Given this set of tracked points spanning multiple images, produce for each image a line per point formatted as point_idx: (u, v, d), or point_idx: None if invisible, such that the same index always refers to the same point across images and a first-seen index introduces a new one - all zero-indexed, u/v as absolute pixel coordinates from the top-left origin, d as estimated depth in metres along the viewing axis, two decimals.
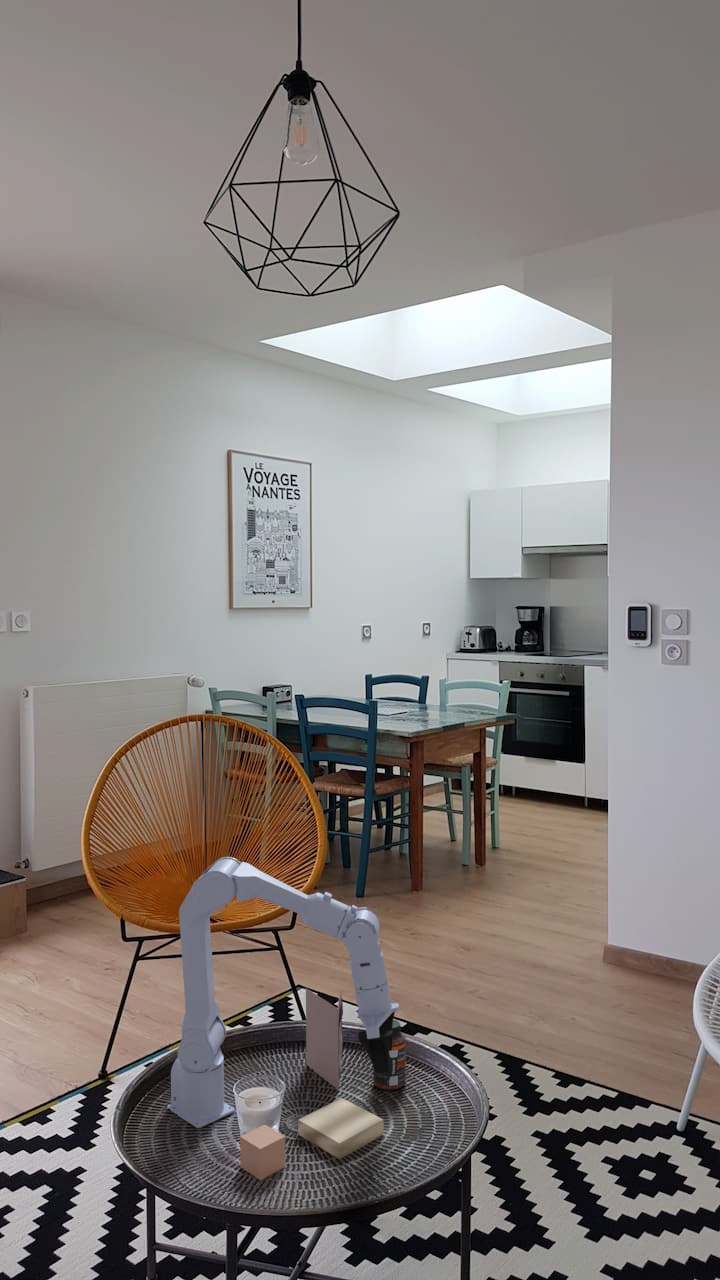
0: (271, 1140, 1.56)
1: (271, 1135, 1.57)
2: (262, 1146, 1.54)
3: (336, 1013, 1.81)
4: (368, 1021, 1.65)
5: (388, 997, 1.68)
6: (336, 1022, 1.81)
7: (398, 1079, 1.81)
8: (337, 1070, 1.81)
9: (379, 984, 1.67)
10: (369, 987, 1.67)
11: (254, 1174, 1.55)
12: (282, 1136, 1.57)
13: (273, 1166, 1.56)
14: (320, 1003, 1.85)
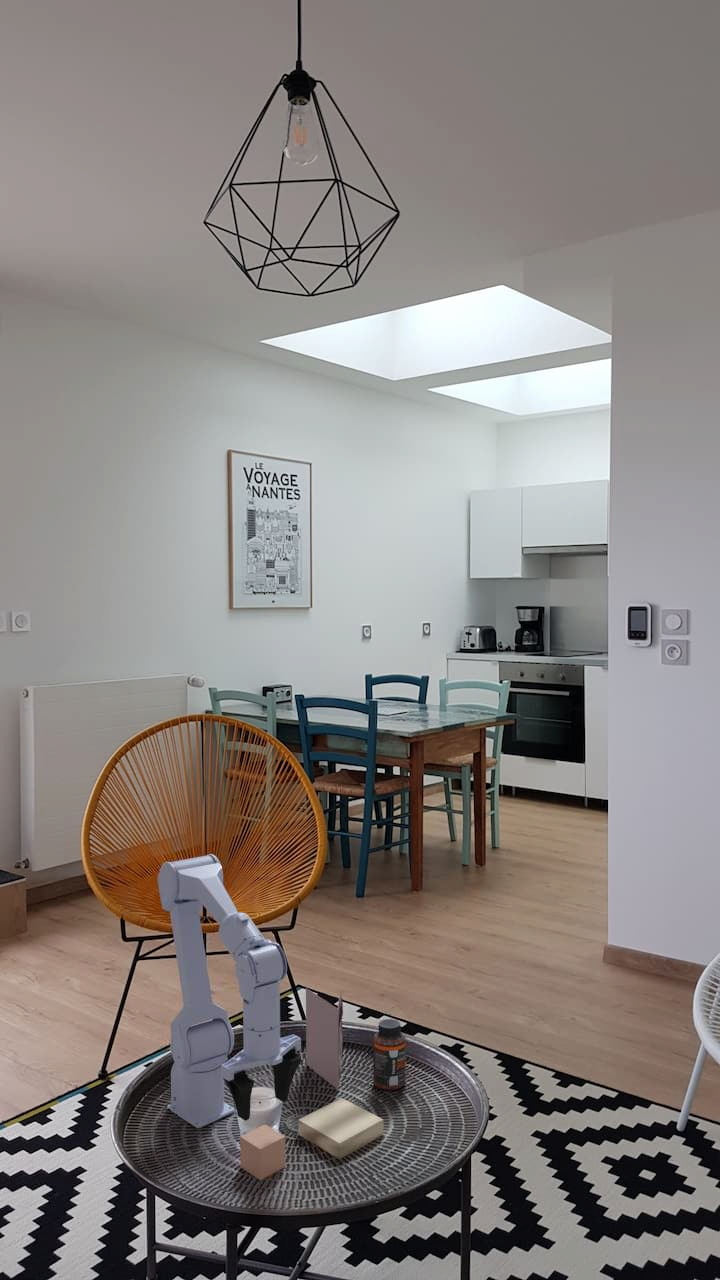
0: (271, 1140, 1.56)
1: (271, 1135, 1.57)
2: (262, 1146, 1.54)
3: (336, 1013, 1.81)
4: (235, 1060, 1.54)
5: (268, 1046, 1.54)
6: (336, 1022, 1.81)
7: (398, 1079, 1.81)
8: (337, 1070, 1.81)
9: (254, 1028, 1.53)
10: (246, 1026, 1.54)
11: (254, 1174, 1.55)
12: (282, 1136, 1.57)
13: (273, 1166, 1.56)
14: (320, 1003, 1.85)
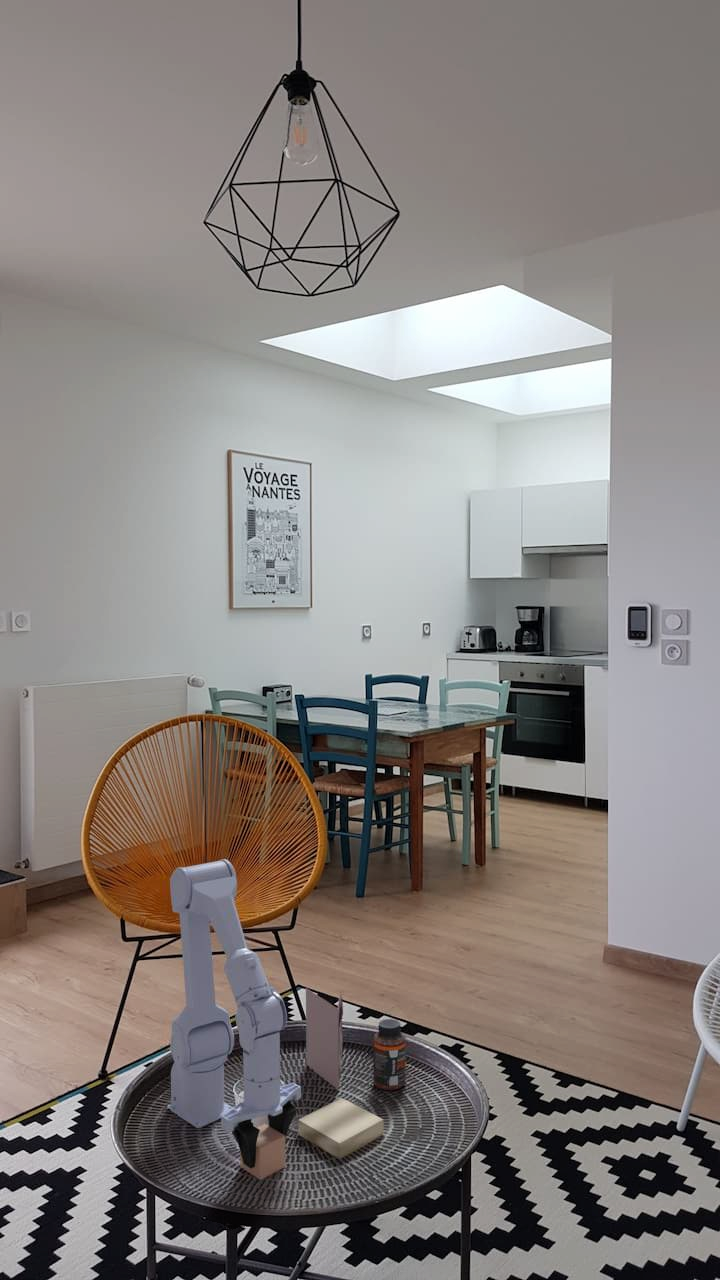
0: (271, 1139, 1.56)
1: (271, 1134, 1.57)
2: (262, 1145, 1.54)
3: (336, 1013, 1.81)
4: (235, 1111, 1.54)
5: (268, 1097, 1.54)
6: (336, 1022, 1.81)
7: (398, 1079, 1.81)
8: (337, 1070, 1.81)
9: (255, 1079, 1.54)
10: (246, 1076, 1.55)
11: (254, 1173, 1.55)
12: (282, 1135, 1.57)
13: (273, 1165, 1.56)
14: (320, 1003, 1.85)
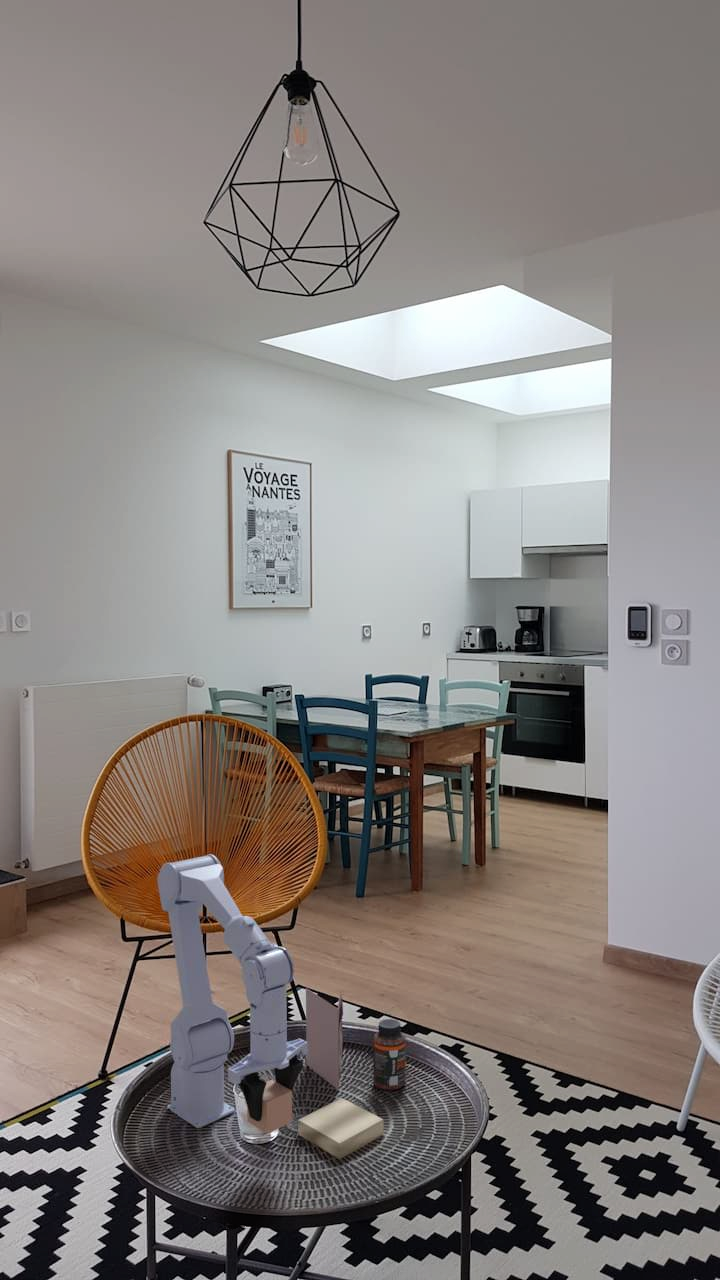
0: (277, 1094, 1.56)
1: (278, 1089, 1.58)
2: (269, 1099, 1.55)
3: (336, 1013, 1.81)
4: (242, 1064, 1.54)
5: (275, 1050, 1.54)
6: (336, 1022, 1.81)
7: (398, 1079, 1.81)
8: (337, 1070, 1.81)
9: (262, 1032, 1.54)
10: (253, 1030, 1.55)
11: (261, 1128, 1.55)
12: (289, 1090, 1.57)
13: (280, 1120, 1.56)
14: (320, 1003, 1.85)
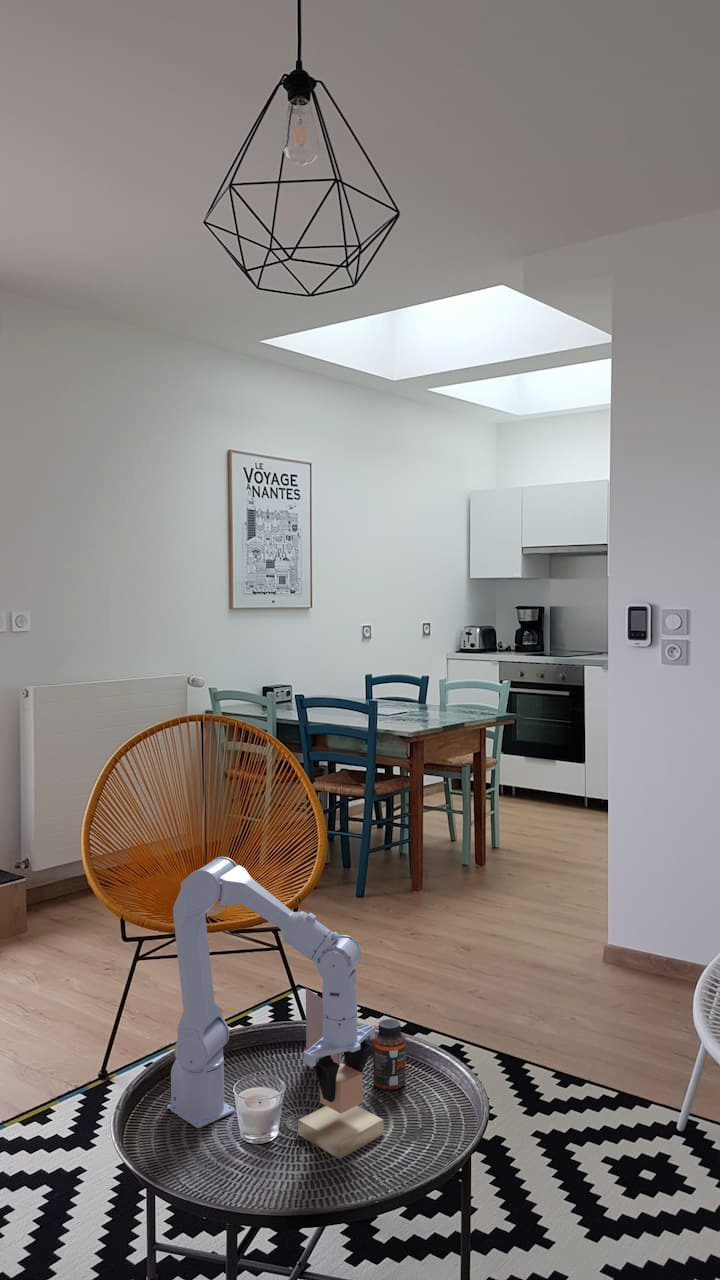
0: (349, 1076, 1.65)
1: (349, 1072, 1.66)
2: (342, 1081, 1.63)
3: None
4: (316, 1047, 1.63)
5: (347, 1034, 1.63)
6: None
7: (398, 1079, 1.81)
8: None
9: (345, 1017, 1.63)
10: (335, 1018, 1.63)
11: (334, 1108, 1.63)
12: (360, 1073, 1.66)
13: (352, 1101, 1.64)
14: (320, 1003, 1.85)
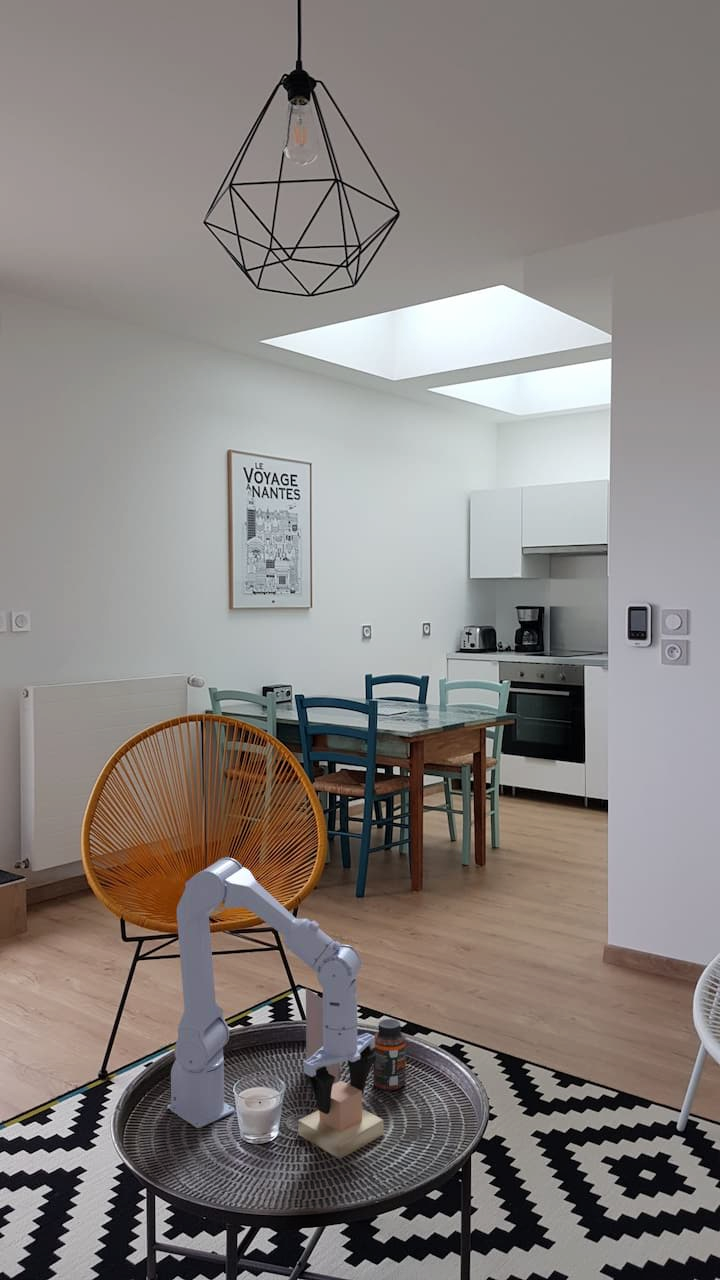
0: (348, 1094, 1.65)
1: (348, 1090, 1.66)
2: (341, 1100, 1.63)
3: None
4: (316, 1057, 1.63)
5: (347, 1044, 1.63)
6: None
7: (398, 1079, 1.81)
8: (337, 1070, 1.81)
9: (346, 1027, 1.63)
10: (335, 1027, 1.63)
11: (334, 1126, 1.64)
12: (359, 1091, 1.66)
13: (351, 1119, 1.64)
14: (320, 1003, 1.85)
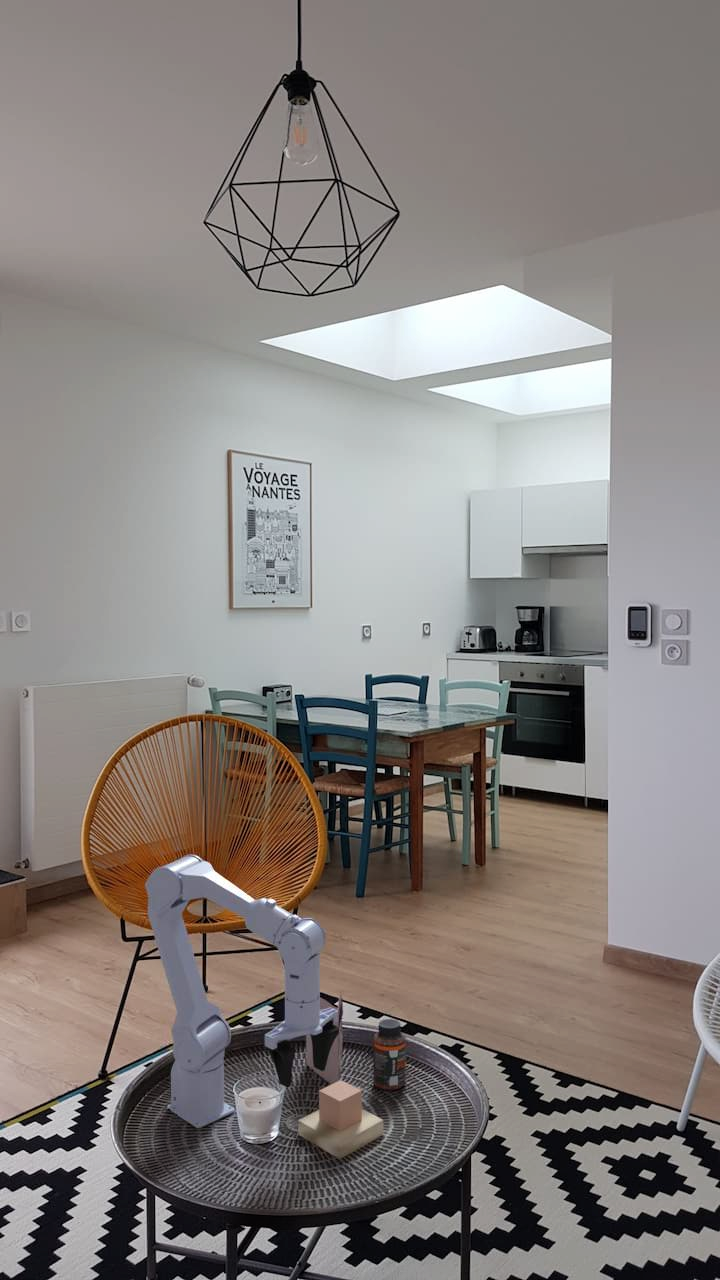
0: (348, 1093, 1.65)
1: (348, 1089, 1.66)
2: (341, 1099, 1.63)
3: None
4: (277, 1030, 1.62)
5: (309, 1017, 1.62)
6: (336, 1022, 1.81)
7: (398, 1079, 1.81)
8: (337, 1070, 1.81)
9: (305, 1000, 1.62)
10: (294, 1000, 1.62)
11: (333, 1125, 1.64)
12: (359, 1090, 1.66)
13: (351, 1118, 1.65)
14: (320, 1003, 1.85)
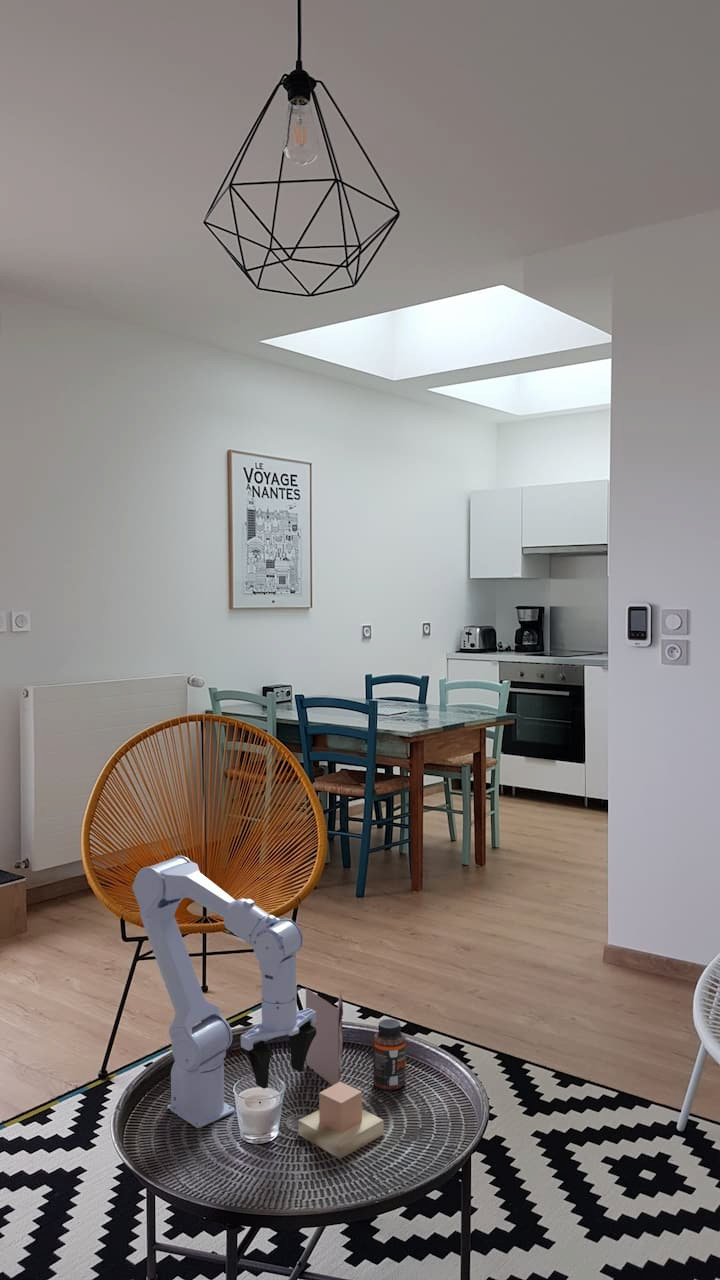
0: (349, 1095, 1.65)
1: (348, 1091, 1.66)
2: (342, 1100, 1.63)
3: (336, 1013, 1.81)
4: (254, 1031, 1.61)
5: (285, 1018, 1.61)
6: (336, 1022, 1.81)
7: (398, 1078, 1.81)
8: (337, 1070, 1.81)
9: (279, 1001, 1.61)
10: (269, 1000, 1.61)
11: (334, 1127, 1.63)
12: (359, 1091, 1.66)
13: (352, 1119, 1.64)
14: (320, 1003, 1.85)
